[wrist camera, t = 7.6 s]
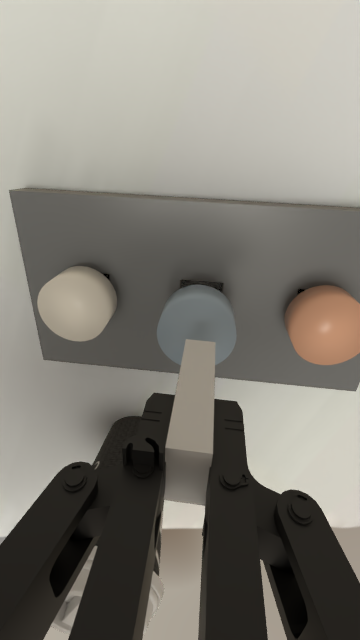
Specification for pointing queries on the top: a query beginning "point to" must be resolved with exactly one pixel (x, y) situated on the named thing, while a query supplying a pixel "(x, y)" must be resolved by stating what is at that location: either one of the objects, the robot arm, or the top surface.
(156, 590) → the coffee cup
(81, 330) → the button cream
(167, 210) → the panel
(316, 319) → the button terracotta
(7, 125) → the top surface
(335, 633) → the robot arm
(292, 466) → the top surface
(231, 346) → the button blue
